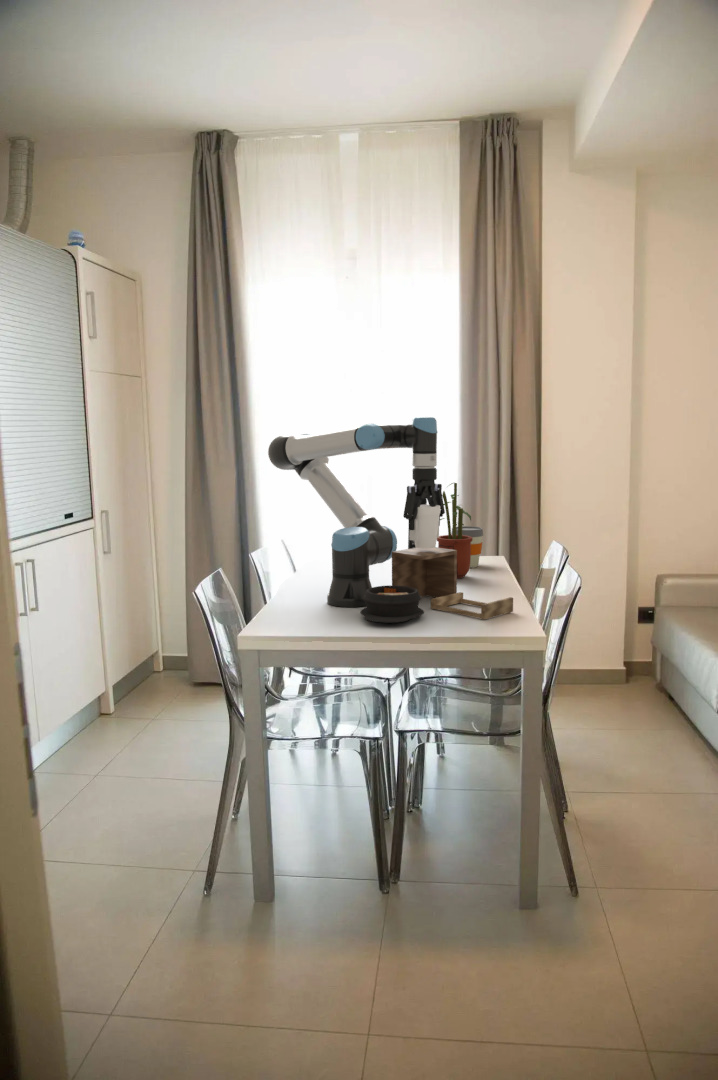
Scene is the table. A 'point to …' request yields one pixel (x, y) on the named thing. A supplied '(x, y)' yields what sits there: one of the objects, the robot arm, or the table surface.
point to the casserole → (391, 604)
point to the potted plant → (457, 536)
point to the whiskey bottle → (410, 542)
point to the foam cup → (427, 526)
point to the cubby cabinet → (426, 570)
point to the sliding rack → (486, 608)
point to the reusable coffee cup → (473, 542)
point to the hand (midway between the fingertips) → (424, 538)
